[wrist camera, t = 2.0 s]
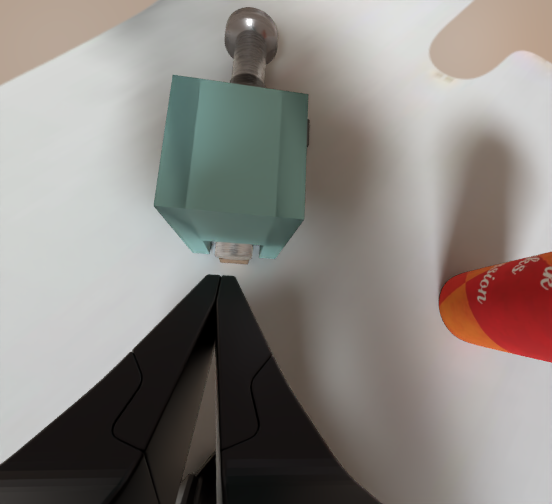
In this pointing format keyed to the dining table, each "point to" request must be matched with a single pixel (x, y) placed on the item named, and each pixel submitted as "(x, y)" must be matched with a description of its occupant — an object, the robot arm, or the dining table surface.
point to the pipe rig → (248, 83)
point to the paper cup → (503, 306)
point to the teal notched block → (233, 164)
